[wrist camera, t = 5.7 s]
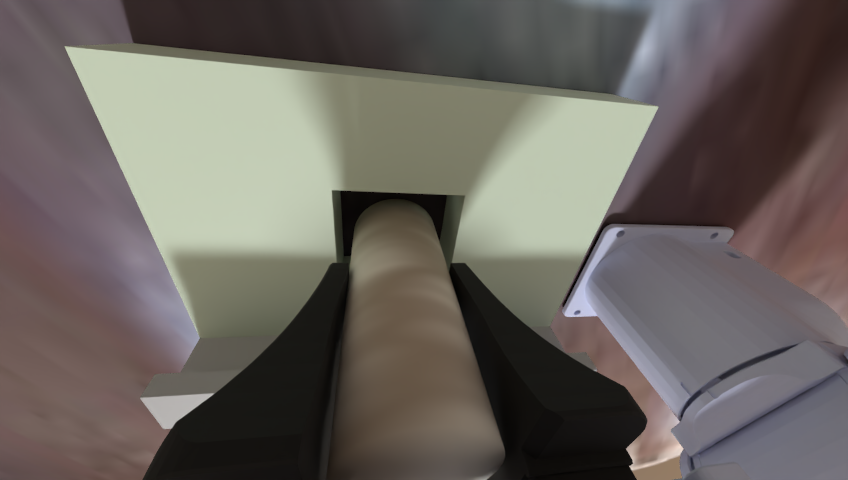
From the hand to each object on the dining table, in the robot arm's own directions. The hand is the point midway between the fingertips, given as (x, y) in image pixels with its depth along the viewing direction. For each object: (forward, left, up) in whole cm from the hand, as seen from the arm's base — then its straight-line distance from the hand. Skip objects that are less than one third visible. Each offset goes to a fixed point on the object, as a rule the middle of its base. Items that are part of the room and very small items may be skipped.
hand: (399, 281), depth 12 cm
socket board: (0, 0, -5) cm, 5 cm away
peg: (0, 0, -3) cm, 3 cm away
